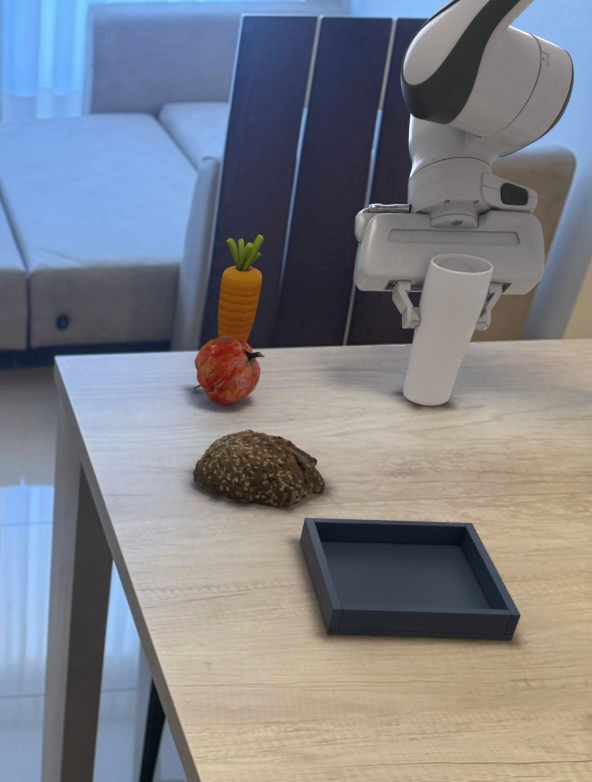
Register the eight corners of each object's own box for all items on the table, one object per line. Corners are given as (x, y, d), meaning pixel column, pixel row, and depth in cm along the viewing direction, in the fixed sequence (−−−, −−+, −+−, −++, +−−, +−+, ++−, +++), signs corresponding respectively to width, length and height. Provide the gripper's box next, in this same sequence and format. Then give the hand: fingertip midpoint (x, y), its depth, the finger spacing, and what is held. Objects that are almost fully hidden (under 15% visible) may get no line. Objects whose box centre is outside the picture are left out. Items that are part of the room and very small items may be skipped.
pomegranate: (180, 422, 134) (242, 392, 126) (163, 359, 133) (224, 325, 125) (224, 412, 138) (287, 383, 130) (208, 352, 137) (270, 318, 129)
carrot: (201, 367, 141) (219, 236, 130) (219, 354, 144) (238, 225, 133) (238, 377, 139) (259, 244, 128) (256, 364, 142) (277, 233, 131)
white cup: (438, 415, 131) (478, 278, 121) (384, 398, 134) (418, 263, 124) (465, 397, 135) (505, 263, 125) (412, 381, 138) (447, 248, 128)
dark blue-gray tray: (464, 547, 110) (472, 522, 108) (511, 640, 98) (521, 615, 96) (299, 541, 110) (304, 517, 108) (327, 634, 98) (333, 609, 97)
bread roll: (175, 485, 118) (181, 439, 115) (233, 442, 125) (240, 398, 122) (289, 523, 112) (299, 476, 109) (343, 476, 120) (353, 431, 116)
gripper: (363, 187, 126) (360, 311, 126) (552, 192, 126) (550, 316, 125) (347, 219, 132) (344, 337, 132) (527, 223, 132) (525, 342, 131)
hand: (446, 327), depth 128 cm, fingers closed on white cup, 6 cm apart
